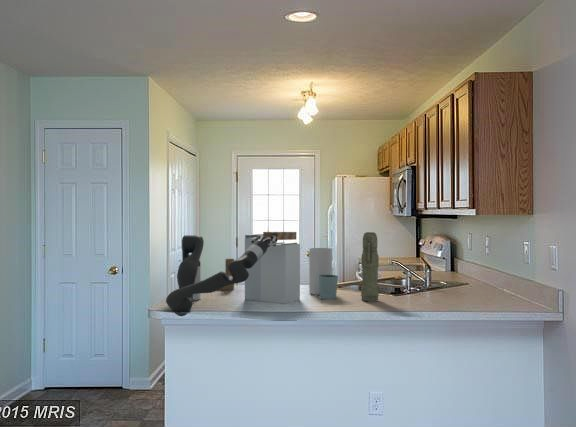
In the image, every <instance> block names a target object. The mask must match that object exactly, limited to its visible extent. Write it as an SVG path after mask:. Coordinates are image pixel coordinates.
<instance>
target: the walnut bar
mask: <svg viewBox="0 0 576 427" xmlns="http://www.w3.org/2000/svg"><path fill="white" fill-rule="evenodd" d="M274 232H275V231H263V232H262V234H263V237H264V239H266V238H267V237H270V236H272V234H273V233H274ZM276 232H277V237H276V238H277V241H291V240H295V241H296V240H297V231H276ZM271 240H272V238H271Z"/></svg>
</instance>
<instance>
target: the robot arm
mask: <svg viewBox="0 0 576 427" xmlns="http://www.w3.org/2000/svg"><path fill="white" fill-rule="evenodd" d="M273 232H274V233H273V234H272V236H270V237H267V238H266V239H264V237H263V235H262V236H258V237H256V238H255V239H253V240H252V241H251V243H252V245H251V246H250V247H249V248H248V249H247V250H246V252H245V251H244V253H243V254H242V255H241V256H240V257H237V258H235V259H234V261H232V262H230V263H229V265H228V270H229V272H230V273H231V275H232V277H230V276H228V275H227V274H226V273H225V271H219V272H217V273H215V274H213V275H211V276H209V277H207V278H205V279H203V280H201V260H200V259H201V256H202V252H203V249H204V242H205V241H204V238H203V236H201V235H199V234H198V235H197V234H196V235H195V234H193V235H192V234H190V235H189V234H187V235H183V236H182V239H181V257H182V258H181V259H182V260H181V262H180V263H179V266H178V269H177V273H176V279H177V285H178V288H177V289H175V290H173V291H171V292H170V293H169V294H168V295H167V296H166V298H165V303H166V305H167V306H168V307H169V308H170V309H171V311H173V313H175V314H176V315H177V316H178V317H185V316H186V315H187V313H188V312H190V311H191V310H192V306H193V304H194V303H193V302H194V301H198V300H201V294H210V293H211V294H212V293H215V292H218V291H220V290H219V289H221V288H223V287H225V286H228V285H231V284H234V285H235V284H240V283H243V282H244V283H245V280H247V278H248V276H249V273H248V271H247V270H246V269H249V268H251V267H252V266H253V265H254V264H255V263H256V262H257V261H258V260H259V259H260V258H261V257H262V256H263V255H264V254H265V252H266V251H267V248H268V247H270V245H273V246H276V243H278V240H277V238H276V237H277V232H278V231H273ZM258 238H259V240H258ZM271 238H272V240H271Z"/></svg>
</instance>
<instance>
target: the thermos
mask: <svg viewBox="0 0 576 427" xmlns="http://www.w3.org/2000/svg"><path fill="white" fill-rule="evenodd" d="M360 256H361V260H360V261H361V269H362V270H361V273H362V275H361V276H362V278H361V282H362V283H361V289H360V296H361V300H363V301H362V302H365V301H376V300H378V301H379V296H380V294H379V293H380V292H379V287H378V286H379V285H378V280H379V279H378V276H379V274H378V273H379V272H378V270H379V269H378V268H379V267H380V266H379V260H380V259H379V258H380V257H379V254H378V236H377V233H375V232H374V231H373V232H372V231H371V232H370V231H369V232H365V233H363V236H362V254H361V255H360Z"/></svg>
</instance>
